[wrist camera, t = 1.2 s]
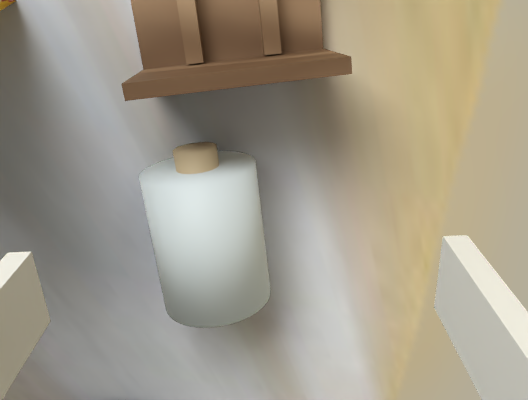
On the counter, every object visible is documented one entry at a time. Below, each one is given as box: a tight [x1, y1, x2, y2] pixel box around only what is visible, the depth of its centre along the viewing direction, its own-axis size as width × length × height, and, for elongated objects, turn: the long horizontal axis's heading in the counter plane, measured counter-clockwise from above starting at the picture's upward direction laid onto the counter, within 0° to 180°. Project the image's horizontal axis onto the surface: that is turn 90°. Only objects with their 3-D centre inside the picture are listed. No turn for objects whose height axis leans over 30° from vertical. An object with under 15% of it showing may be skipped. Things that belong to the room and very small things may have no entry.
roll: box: [139, 142, 271, 328], centre depth 31 cm, size 11×7×7 cm, turn 6°
